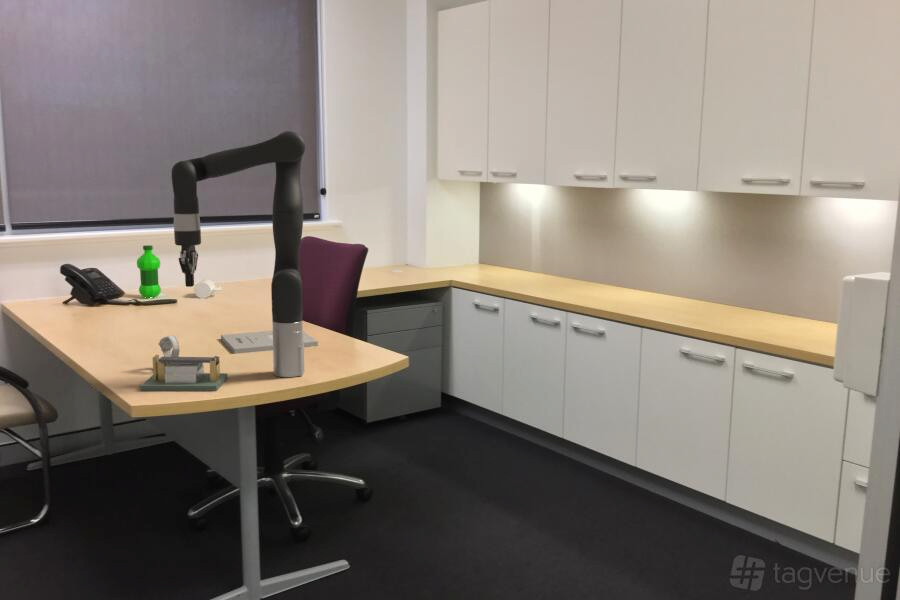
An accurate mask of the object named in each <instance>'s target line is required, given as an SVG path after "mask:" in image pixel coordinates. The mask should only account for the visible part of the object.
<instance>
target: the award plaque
mask: <svg viewBox="0 0 900 600" xmlns="http://www.w3.org/2000/svg"><path fill="white" fill-rule="evenodd" d="M220 340H221V341H222V343H224V344H225V345H226V347H228V348H229V350H230V351H232V353H233V354H234V355H238V354H247V353H257V352H258V353H259V352H266V351H267V352H269V351H273V330H264V331H253V332H240V333H229V334H221V335H220ZM303 342H304V348H312V347H311V346H314V347H319V341H318V340H317V339H315V338H313V337H312V336H310V335H309V334H307V333H306V332H305V331H303Z"/></svg>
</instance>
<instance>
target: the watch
mask: <svg viewBox="0 0 900 600" xmlns="http://www.w3.org/2000/svg"><path fill="white" fill-rule="evenodd" d="M157 344H158V346H159V347H160V349H161V352H162V354H163V357H180V356H179V355H180V345H179V340H178V338H177V337H176V336H175V335H166V336H164V337H162V338H161V339H160V340H159V343H157ZM169 363H171V362H168V364H169Z"/></svg>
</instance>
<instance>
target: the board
mask: <svg viewBox="0 0 900 600" xmlns="http://www.w3.org/2000/svg"><path fill="white" fill-rule="evenodd" d="M228 378H229V377H228V373H227V372H226V373H221V372H220V379H219V380H218V381H216V382H210V372H209V373H208V372H207V373H205V372H204V376H203V377H202V378H201V379H200V380H199V381H198V382H197V383H196V384H165V381H158V380H157V381H154V378H153V374H152V375H151V376H150V377H149V378H148V379H146V380H145V381H144V382H142V384H141V385H139V391H141V392H145V391H146V392H217V391H218V390H219V389H220V387H221V386H222V385H223V384H224V383H225V382H226V381H227V379H228Z"/></svg>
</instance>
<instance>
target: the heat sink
mask: <svg viewBox="0 0 900 600" xmlns="http://www.w3.org/2000/svg"><path fill="white" fill-rule="evenodd" d="M204 373H205V366H204V363H183V362H171V363H169V364H167V366H165V384H196V383H197V382H198V381H199V380H200V379H201V378H202V377H203V376H204Z"/></svg>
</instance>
